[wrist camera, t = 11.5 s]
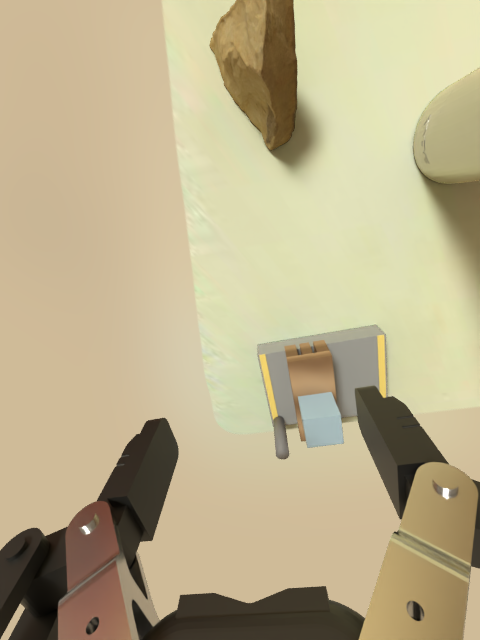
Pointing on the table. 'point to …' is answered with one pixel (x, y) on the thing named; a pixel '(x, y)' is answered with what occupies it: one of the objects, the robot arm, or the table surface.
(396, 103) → the table surface
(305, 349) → the pallet
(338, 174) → the table surface
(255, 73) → the rock
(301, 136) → the table surface
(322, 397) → the pale blue cube
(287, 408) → the dock
